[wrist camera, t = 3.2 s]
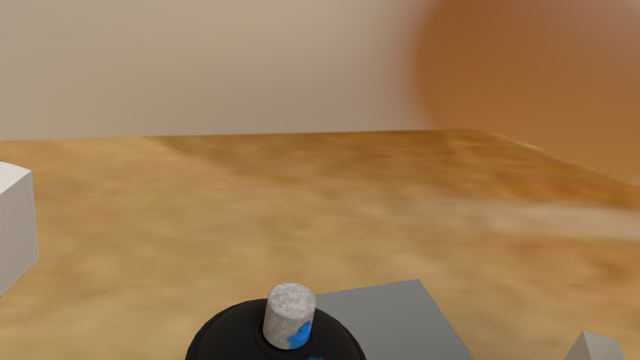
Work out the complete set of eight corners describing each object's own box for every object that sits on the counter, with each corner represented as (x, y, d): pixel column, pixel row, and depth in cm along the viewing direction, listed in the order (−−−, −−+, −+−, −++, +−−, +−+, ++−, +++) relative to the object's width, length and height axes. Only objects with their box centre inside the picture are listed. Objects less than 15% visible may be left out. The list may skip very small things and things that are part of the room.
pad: (487, 392, 45) (491, 384, 44) (351, 427, 40) (354, 418, 40) (415, 286, 54) (418, 279, 53) (298, 305, 49) (300, 297, 49)
